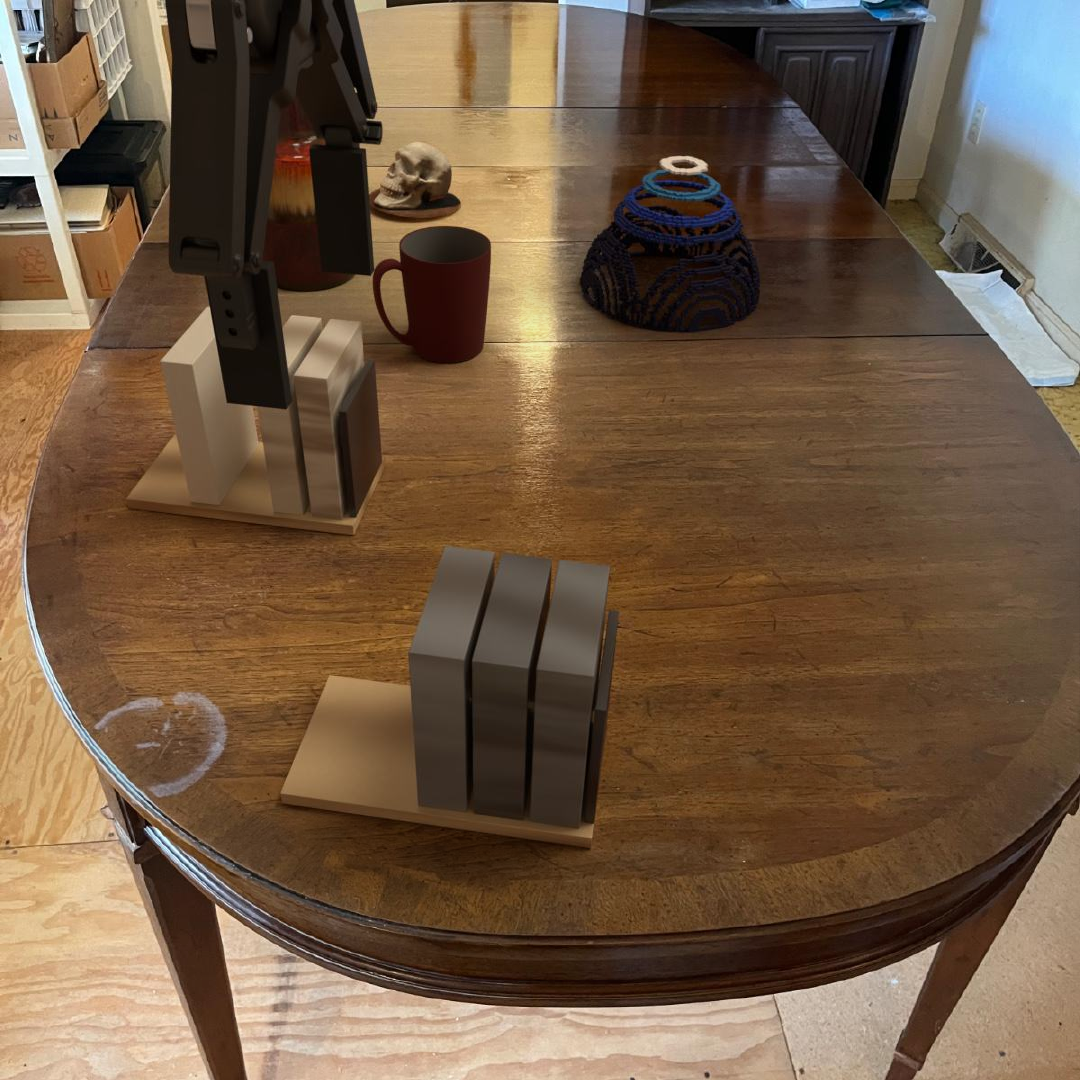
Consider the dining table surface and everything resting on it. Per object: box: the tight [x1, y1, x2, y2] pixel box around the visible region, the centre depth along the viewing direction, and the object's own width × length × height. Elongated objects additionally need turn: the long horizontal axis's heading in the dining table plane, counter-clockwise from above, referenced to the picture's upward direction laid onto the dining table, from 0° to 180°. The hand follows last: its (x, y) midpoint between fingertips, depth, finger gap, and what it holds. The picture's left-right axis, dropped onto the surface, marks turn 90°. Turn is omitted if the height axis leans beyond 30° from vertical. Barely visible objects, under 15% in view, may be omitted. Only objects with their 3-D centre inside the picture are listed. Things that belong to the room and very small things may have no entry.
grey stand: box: [279, 545, 620, 849], centre depth 63 cm, size 10×19×14 cm, turn 82°
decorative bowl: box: [579, 155, 761, 333], centre depth 117 cm, size 20×20×14 cm
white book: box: [159, 306, 259, 505], centre depth 85 cm, size 9×2×13 cm, turn 172°
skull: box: [369, 141, 462, 220], centre depth 138 cm, size 12×10×10 cm
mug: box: [372, 225, 492, 364], centre depth 106 cm, size 12×9×11 cm
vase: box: [262, 95, 356, 292], centre depth 116 cm, size 11×11×20 cm
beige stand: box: [125, 314, 387, 536], centre depth 85 cm, size 10×19×14 cm, turn 82°
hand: (308, 330), depth 52 cm, fingers open, 13 cm apart
